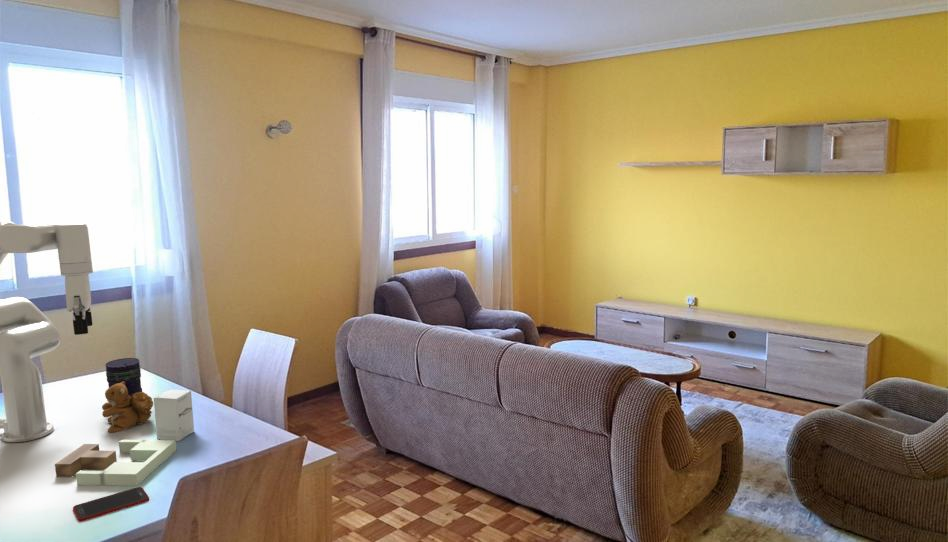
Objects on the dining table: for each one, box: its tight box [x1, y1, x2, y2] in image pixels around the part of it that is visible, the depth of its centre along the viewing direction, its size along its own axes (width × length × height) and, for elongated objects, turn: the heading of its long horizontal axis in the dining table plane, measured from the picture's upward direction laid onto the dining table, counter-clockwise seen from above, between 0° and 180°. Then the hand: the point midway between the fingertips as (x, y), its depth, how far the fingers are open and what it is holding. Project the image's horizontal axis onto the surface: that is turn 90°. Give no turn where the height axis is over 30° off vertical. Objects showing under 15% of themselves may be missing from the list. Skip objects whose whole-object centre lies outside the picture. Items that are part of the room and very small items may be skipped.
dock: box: [75, 439, 177, 487], centre depth 175 cm, size 15×20×3 cm
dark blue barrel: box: [105, 357, 143, 402], centre depth 216 cm, size 10×10×15 cm
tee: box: [54, 443, 118, 478], centre depth 175 cm, size 11×12×4 cm
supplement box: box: [153, 389, 195, 442], centre depth 193 cm, size 7×7×13 cm
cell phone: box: [72, 486, 150, 522], centre depth 156 cm, size 8×15×1 cm, turn 130°
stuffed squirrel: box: [101, 382, 154, 433], centre depth 202 cm, size 10×14×13 cm
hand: (83, 330), depth 185 cm, fingers open, 9 cm apart
